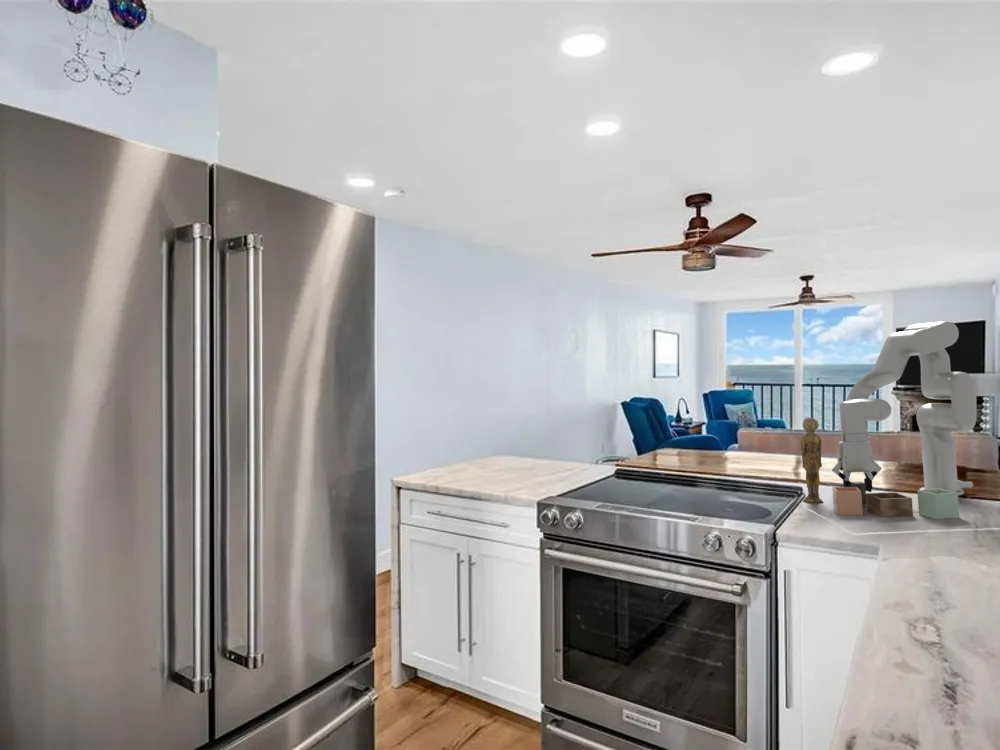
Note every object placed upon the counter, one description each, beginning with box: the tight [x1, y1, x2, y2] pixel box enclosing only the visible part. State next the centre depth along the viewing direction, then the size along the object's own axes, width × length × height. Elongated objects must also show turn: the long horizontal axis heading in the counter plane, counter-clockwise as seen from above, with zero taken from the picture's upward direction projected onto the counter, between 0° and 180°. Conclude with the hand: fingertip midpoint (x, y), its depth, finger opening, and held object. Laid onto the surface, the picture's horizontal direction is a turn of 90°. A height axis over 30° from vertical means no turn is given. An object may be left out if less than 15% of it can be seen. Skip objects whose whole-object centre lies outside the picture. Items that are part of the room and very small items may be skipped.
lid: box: [851, 481, 867, 509], centre depth 203 cm, size 10×10×8 cm
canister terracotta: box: [832, 486, 864, 516], centre depth 194 cm, size 7×7×8 cm
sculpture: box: [800, 417, 824, 505], centre depth 210 cm, size 7×6×30 cm
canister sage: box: [916, 488, 960, 520], centre depth 183 cm, size 7×7×8 cm
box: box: [866, 491, 914, 518], centre depth 190 cm, size 9×9×6 cm
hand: (858, 491), depth 203 cm, fingers open, 5 cm apart
